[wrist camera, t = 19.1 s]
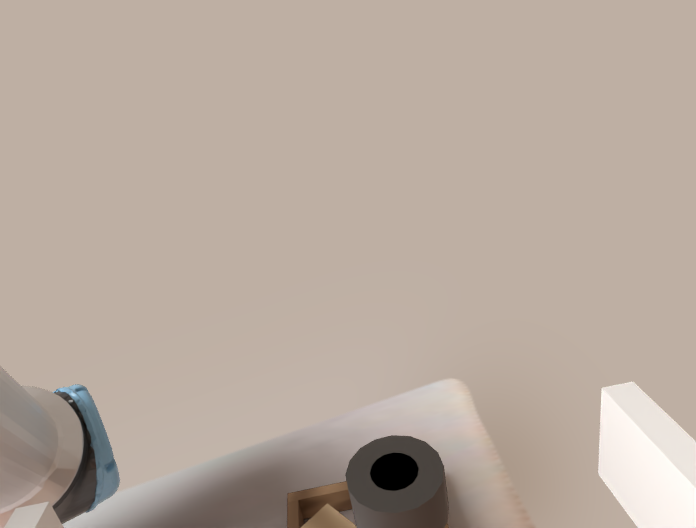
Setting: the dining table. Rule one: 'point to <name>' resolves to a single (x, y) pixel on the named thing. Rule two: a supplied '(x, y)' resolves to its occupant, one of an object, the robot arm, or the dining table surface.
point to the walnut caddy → (317, 502)
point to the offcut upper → (328, 519)
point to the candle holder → (397, 485)
